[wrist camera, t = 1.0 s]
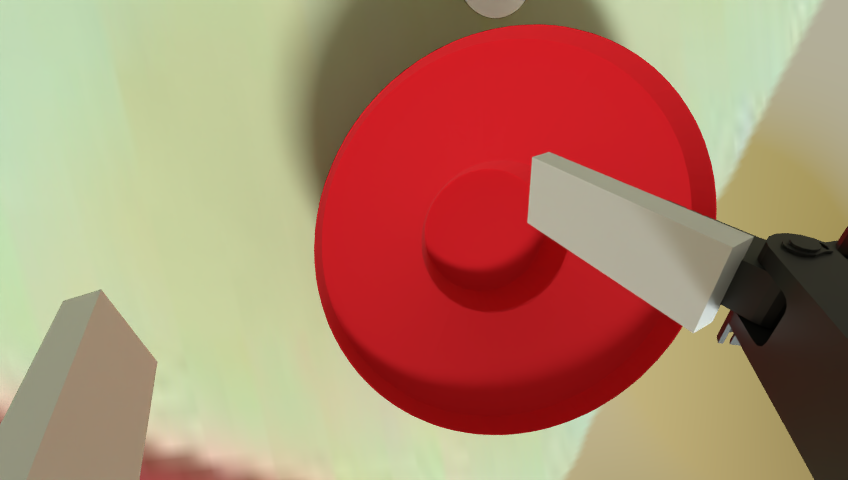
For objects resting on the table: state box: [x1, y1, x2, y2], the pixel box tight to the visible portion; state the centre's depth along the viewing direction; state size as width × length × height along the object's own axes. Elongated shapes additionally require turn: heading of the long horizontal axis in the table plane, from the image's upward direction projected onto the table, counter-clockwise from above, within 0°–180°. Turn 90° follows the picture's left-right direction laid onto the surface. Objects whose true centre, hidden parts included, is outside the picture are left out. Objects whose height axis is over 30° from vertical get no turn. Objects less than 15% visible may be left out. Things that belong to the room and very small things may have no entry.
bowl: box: [314, 24, 717, 435], centre depth 32 cm, size 30×30×10 cm
